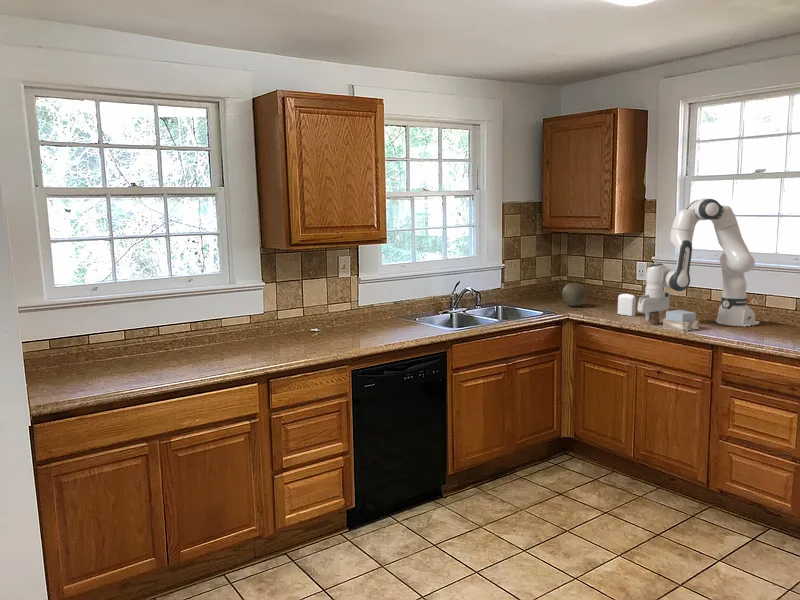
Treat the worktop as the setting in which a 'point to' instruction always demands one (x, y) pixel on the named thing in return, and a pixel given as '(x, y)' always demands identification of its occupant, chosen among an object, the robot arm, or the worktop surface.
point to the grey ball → (574, 294)
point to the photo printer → (626, 304)
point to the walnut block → (653, 318)
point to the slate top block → (681, 315)
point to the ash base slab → (681, 325)
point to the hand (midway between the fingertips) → (652, 319)
